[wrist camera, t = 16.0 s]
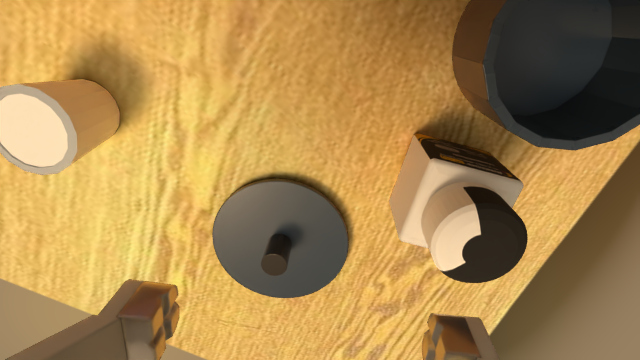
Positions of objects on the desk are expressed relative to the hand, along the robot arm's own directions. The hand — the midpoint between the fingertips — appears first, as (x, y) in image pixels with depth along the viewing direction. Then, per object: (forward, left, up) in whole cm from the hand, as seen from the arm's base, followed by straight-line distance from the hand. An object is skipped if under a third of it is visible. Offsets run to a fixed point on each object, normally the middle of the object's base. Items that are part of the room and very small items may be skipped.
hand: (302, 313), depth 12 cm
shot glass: (+1, -21, -23) cm, 32 cm away
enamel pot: (-8, +16, -23) cm, 29 cm away
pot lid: (+12, -3, -22) cm, 26 cm away
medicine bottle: (+4, +11, -23) cm, 26 cm away
